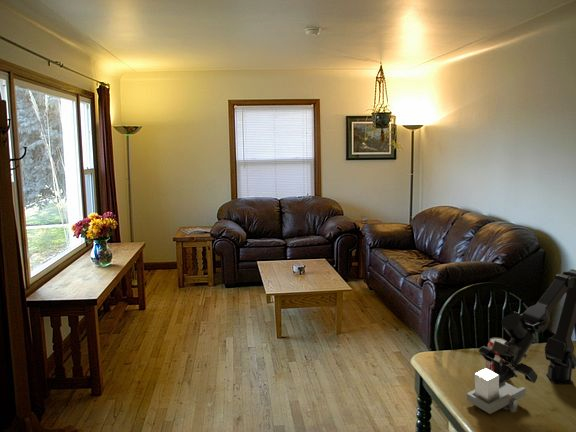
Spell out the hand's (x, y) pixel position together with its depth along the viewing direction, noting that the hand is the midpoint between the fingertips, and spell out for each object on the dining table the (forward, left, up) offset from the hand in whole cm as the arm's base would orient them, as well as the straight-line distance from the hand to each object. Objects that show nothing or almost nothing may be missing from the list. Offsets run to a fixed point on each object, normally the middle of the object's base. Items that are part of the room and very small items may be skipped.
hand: (492, 385), depth 160 cm
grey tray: (-2, -1, -5) cm, 5 cm away
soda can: (-11, -23, -7) cm, 26 cm away
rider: (+2, +1, -4) cm, 5 cm away
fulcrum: (-3, -2, -7) cm, 8 cm away
